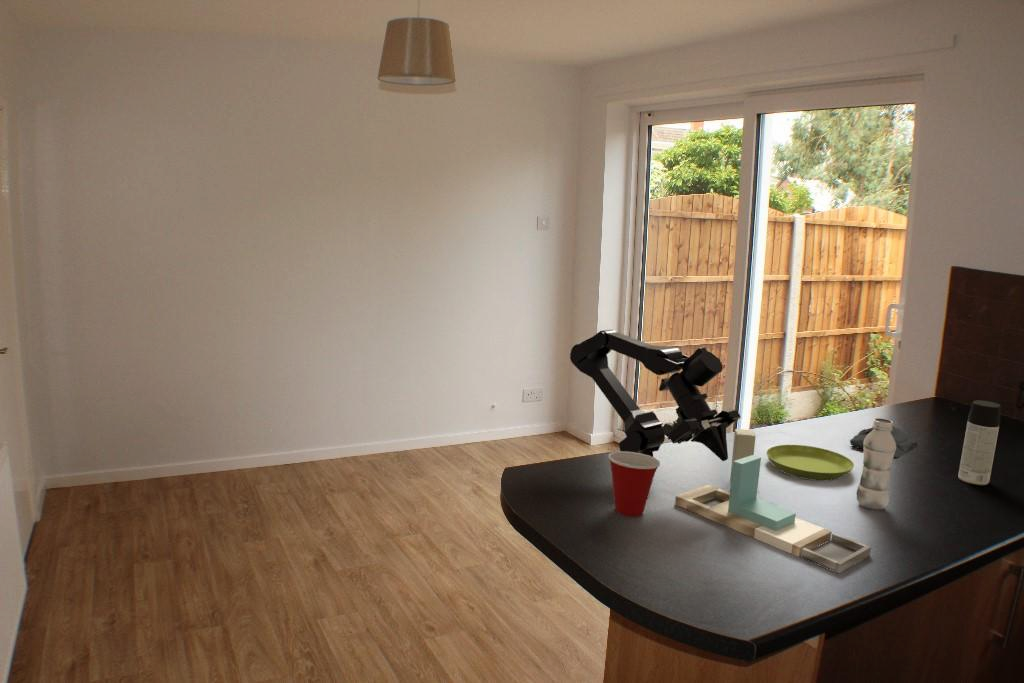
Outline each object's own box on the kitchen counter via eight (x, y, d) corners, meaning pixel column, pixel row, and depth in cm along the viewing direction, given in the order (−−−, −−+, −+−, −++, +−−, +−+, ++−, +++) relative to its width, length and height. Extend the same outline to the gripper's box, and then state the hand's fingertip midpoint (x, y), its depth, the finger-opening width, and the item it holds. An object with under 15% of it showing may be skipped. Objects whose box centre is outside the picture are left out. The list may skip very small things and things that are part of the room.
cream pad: (754, 537, 146) (755, 528, 146) (786, 523, 154) (787, 514, 153) (791, 553, 140) (792, 544, 140) (823, 537, 148) (824, 528, 147)
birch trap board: (675, 504, 161) (675, 495, 160) (708, 492, 168) (709, 484, 168) (838, 573, 133) (840, 563, 133) (869, 555, 141) (871, 546, 140)
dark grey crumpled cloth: (838, 447, 207) (841, 431, 206) (864, 432, 223) (866, 417, 222) (897, 462, 197) (900, 445, 196) (920, 444, 213) (922, 429, 212)
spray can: (991, 481, 184) (1005, 403, 181) (985, 488, 179) (999, 408, 176) (961, 473, 189) (974, 398, 185) (954, 480, 184) (967, 402, 180)
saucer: (798, 451, 202) (799, 440, 201) (869, 476, 185) (871, 464, 184) (748, 463, 190) (749, 451, 190) (819, 490, 174) (820, 477, 173)
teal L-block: (727, 511, 153) (733, 461, 151) (747, 504, 158) (752, 454, 156) (775, 530, 145) (782, 477, 143) (794, 522, 150) (801, 470, 148)
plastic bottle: (874, 515, 160) (887, 426, 156) (848, 503, 166) (860, 417, 162) (894, 510, 163) (907, 423, 159) (867, 499, 169) (879, 415, 165)
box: (750, 489, 172) (756, 436, 169) (731, 487, 172) (736, 434, 170) (748, 481, 177) (754, 429, 174) (729, 479, 178) (734, 427, 175)
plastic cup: (666, 512, 156) (670, 458, 154) (636, 526, 149) (640, 470, 147) (624, 496, 164) (628, 445, 162) (593, 509, 156) (597, 455, 154)
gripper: (690, 409, 174) (725, 468, 168) (638, 422, 163) (673, 485, 156) (722, 385, 167) (760, 445, 161) (670, 395, 155) (708, 461, 149)
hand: (725, 460), depth 157 cm, fingers closed
